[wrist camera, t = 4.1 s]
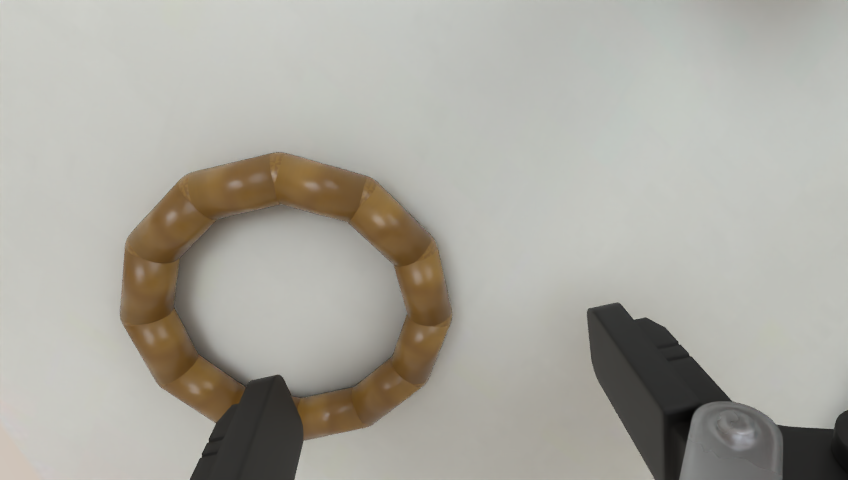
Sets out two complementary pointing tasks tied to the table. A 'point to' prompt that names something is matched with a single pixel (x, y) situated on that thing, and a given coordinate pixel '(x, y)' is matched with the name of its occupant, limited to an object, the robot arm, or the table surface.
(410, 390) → the ring
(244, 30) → the table surface
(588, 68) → the table surface
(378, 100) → the table surface
